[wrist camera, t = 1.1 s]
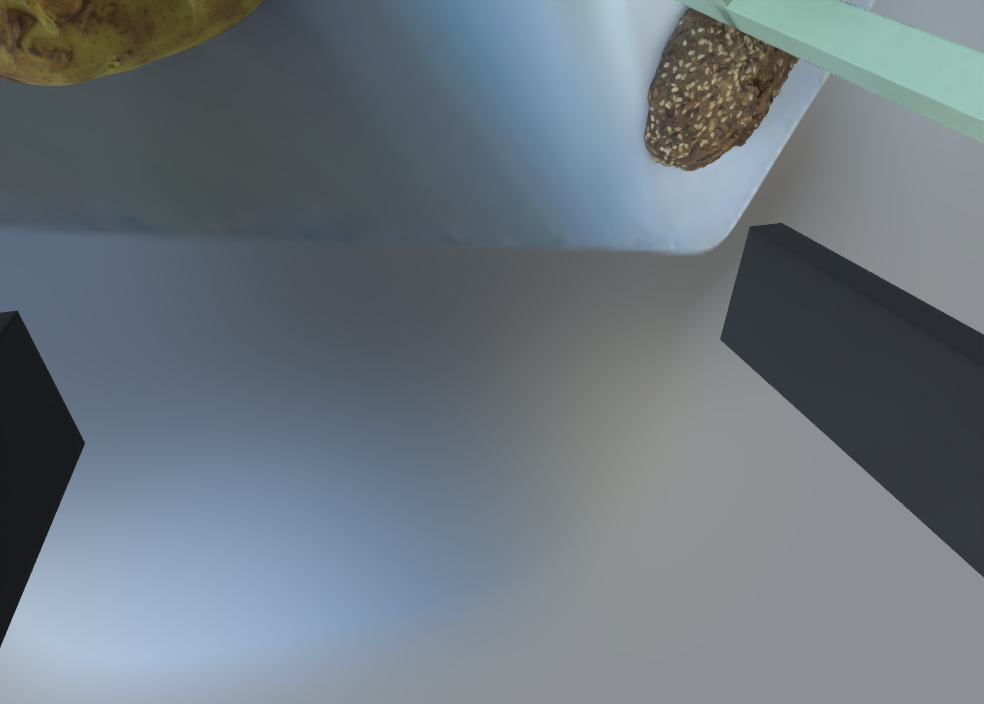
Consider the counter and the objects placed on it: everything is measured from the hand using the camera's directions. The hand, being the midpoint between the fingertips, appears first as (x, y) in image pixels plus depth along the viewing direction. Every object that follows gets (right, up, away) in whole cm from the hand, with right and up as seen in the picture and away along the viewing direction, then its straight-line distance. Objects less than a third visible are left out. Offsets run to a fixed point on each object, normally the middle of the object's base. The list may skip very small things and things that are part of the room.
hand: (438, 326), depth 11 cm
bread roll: (+17, +20, +33) cm, 42 cm away
